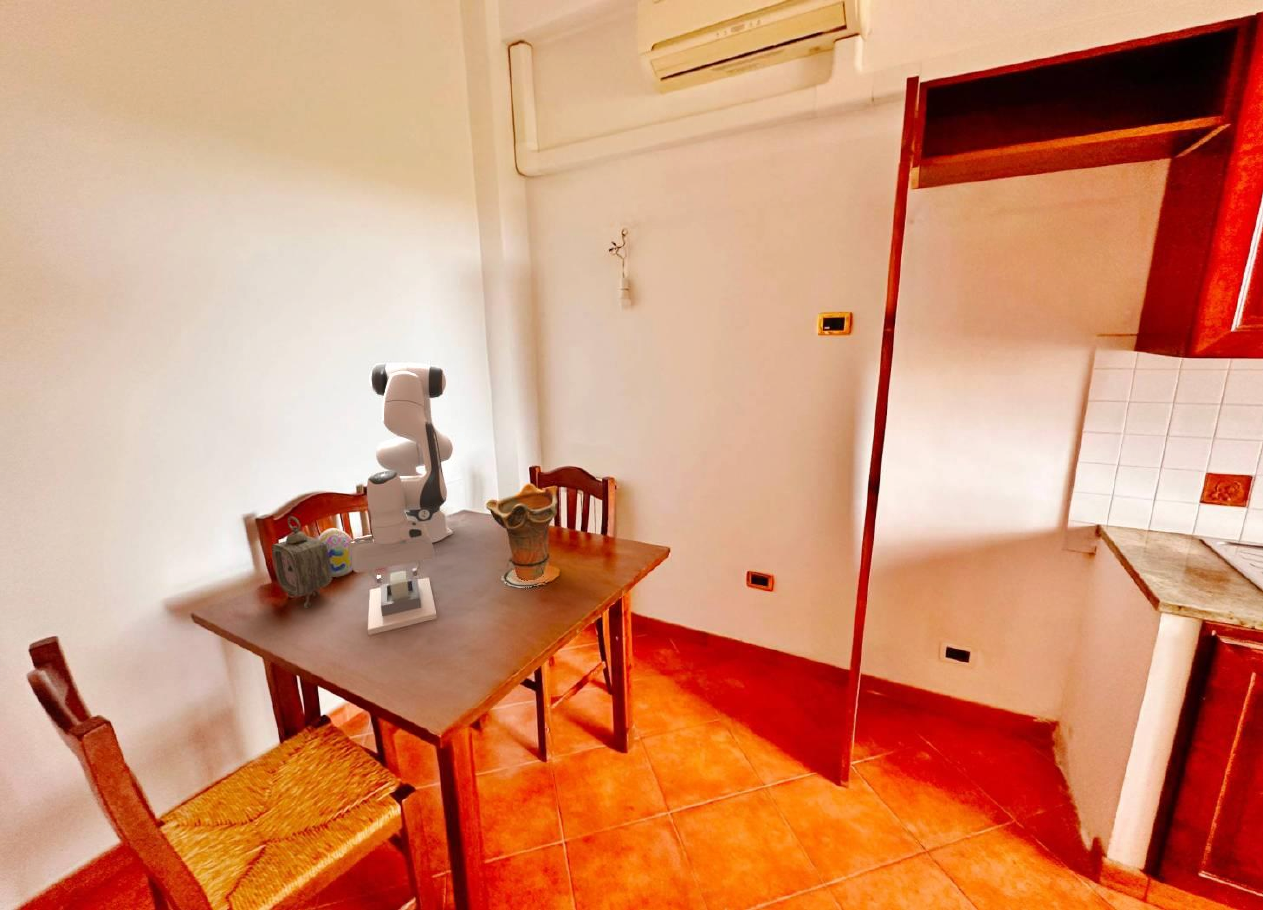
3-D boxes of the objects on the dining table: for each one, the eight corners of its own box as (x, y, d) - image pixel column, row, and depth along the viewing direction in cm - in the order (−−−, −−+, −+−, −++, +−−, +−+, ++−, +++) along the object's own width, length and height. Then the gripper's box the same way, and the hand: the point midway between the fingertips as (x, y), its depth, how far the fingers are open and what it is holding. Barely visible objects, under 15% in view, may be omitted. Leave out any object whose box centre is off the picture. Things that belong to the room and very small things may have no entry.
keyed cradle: (370, 594, 145) (368, 580, 144) (429, 581, 152) (427, 568, 151) (368, 635, 124) (365, 618, 123) (436, 618, 131) (434, 602, 130)
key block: (393, 609, 134) (390, 585, 132) (393, 596, 141) (390, 573, 139) (409, 605, 135) (406, 581, 134) (408, 593, 142) (405, 570, 141)
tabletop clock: (280, 599, 144) (264, 517, 139) (314, 586, 152) (299, 508, 146) (304, 612, 136) (287, 526, 131) (338, 598, 144) (324, 516, 138)
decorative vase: (478, 588, 146) (472, 495, 141) (518, 560, 168) (514, 479, 163) (543, 597, 140) (538, 500, 135) (575, 566, 161) (573, 482, 157)
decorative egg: (317, 585, 152) (309, 539, 149) (314, 571, 162) (306, 528, 159) (362, 573, 159) (355, 529, 156) (356, 561, 169) (350, 519, 166)
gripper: (345, 543, 127) (354, 592, 130) (431, 528, 135) (437, 575, 138) (347, 535, 132) (355, 582, 135) (430, 521, 141) (435, 566, 144)
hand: (397, 579), depth 137 cm, fingers open, 8 cm apart
